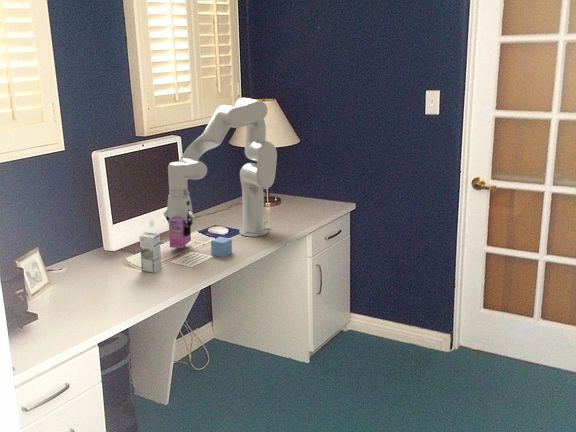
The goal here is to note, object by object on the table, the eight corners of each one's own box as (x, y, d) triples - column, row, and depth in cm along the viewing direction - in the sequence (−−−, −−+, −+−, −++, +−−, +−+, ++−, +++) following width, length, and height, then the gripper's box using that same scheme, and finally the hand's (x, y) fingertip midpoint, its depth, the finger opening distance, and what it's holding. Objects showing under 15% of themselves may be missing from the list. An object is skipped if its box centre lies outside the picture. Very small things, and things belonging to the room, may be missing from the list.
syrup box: (162, 268, 259) (160, 232, 255) (154, 273, 253) (152, 237, 249) (149, 266, 261) (147, 231, 256) (141, 271, 255) (138, 235, 251)
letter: (191, 252, 277) (191, 251, 277) (213, 256, 271) (213, 256, 271) (169, 262, 265) (169, 261, 265) (191, 267, 260) (191, 266, 260)
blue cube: (220, 250, 279) (219, 236, 277) (231, 252, 276) (231, 239, 275) (211, 254, 274) (210, 240, 272) (223, 257, 271) (223, 243, 270)
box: (182, 248, 274) (181, 220, 271) (169, 247, 276) (168, 219, 272) (191, 240, 284) (190, 213, 281) (178, 239, 285) (177, 213, 282)
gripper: (201, 193, 273) (202, 235, 278) (167, 187, 281) (169, 228, 286) (189, 197, 266) (191, 239, 271) (155, 191, 275) (158, 233, 280)
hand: (180, 233), depth 279 cm, fingers closed on box, 7 cm apart
